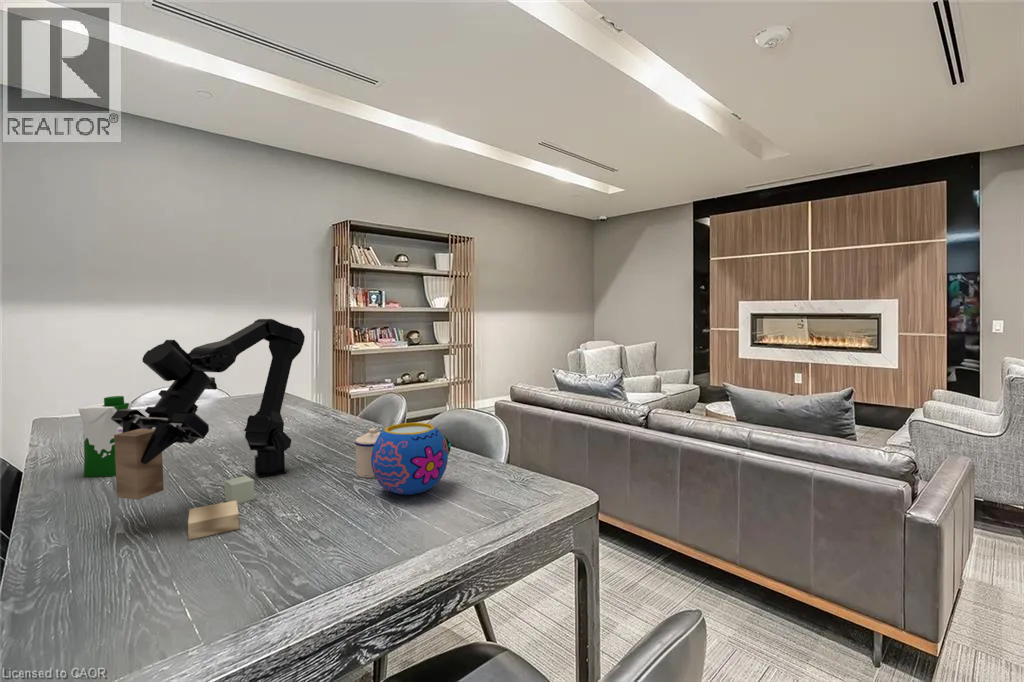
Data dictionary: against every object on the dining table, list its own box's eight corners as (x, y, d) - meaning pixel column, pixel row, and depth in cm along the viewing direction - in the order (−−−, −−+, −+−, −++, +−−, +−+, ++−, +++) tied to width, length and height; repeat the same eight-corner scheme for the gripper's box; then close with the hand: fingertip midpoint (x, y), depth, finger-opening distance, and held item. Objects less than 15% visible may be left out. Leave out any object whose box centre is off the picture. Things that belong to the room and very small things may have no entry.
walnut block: (143, 488, 93) (140, 428, 92) (163, 490, 92) (161, 429, 91) (117, 497, 88) (114, 434, 88) (138, 499, 87) (135, 436, 86)
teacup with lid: (398, 471, 124) (398, 427, 123) (370, 481, 116) (369, 434, 116) (370, 463, 131) (369, 422, 130) (341, 472, 123) (340, 428, 123)
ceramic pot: (462, 483, 114) (462, 423, 114) (418, 511, 98) (417, 440, 97) (404, 474, 122) (403, 417, 121) (355, 497, 105) (353, 432, 105)
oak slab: (236, 514, 97) (236, 500, 96) (239, 528, 90) (238, 513, 90) (189, 523, 92) (189, 508, 92) (188, 539, 86) (188, 523, 85)
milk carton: (114, 477, 120) (110, 399, 119) (76, 478, 119) (72, 400, 118) (138, 466, 128) (135, 394, 127) (103, 467, 128) (100, 394, 127)
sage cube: (247, 494, 108) (246, 475, 108) (254, 499, 105) (253, 479, 105) (225, 500, 104) (224, 480, 104) (232, 505, 101) (231, 485, 101)
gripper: (242, 417, 102) (200, 484, 92) (173, 414, 106) (125, 477, 96) (210, 387, 94) (160, 457, 84) (137, 384, 98) (80, 450, 88)
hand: (132, 462), depth 88 cm, fingers closed on walnut block, 5 cm apart
